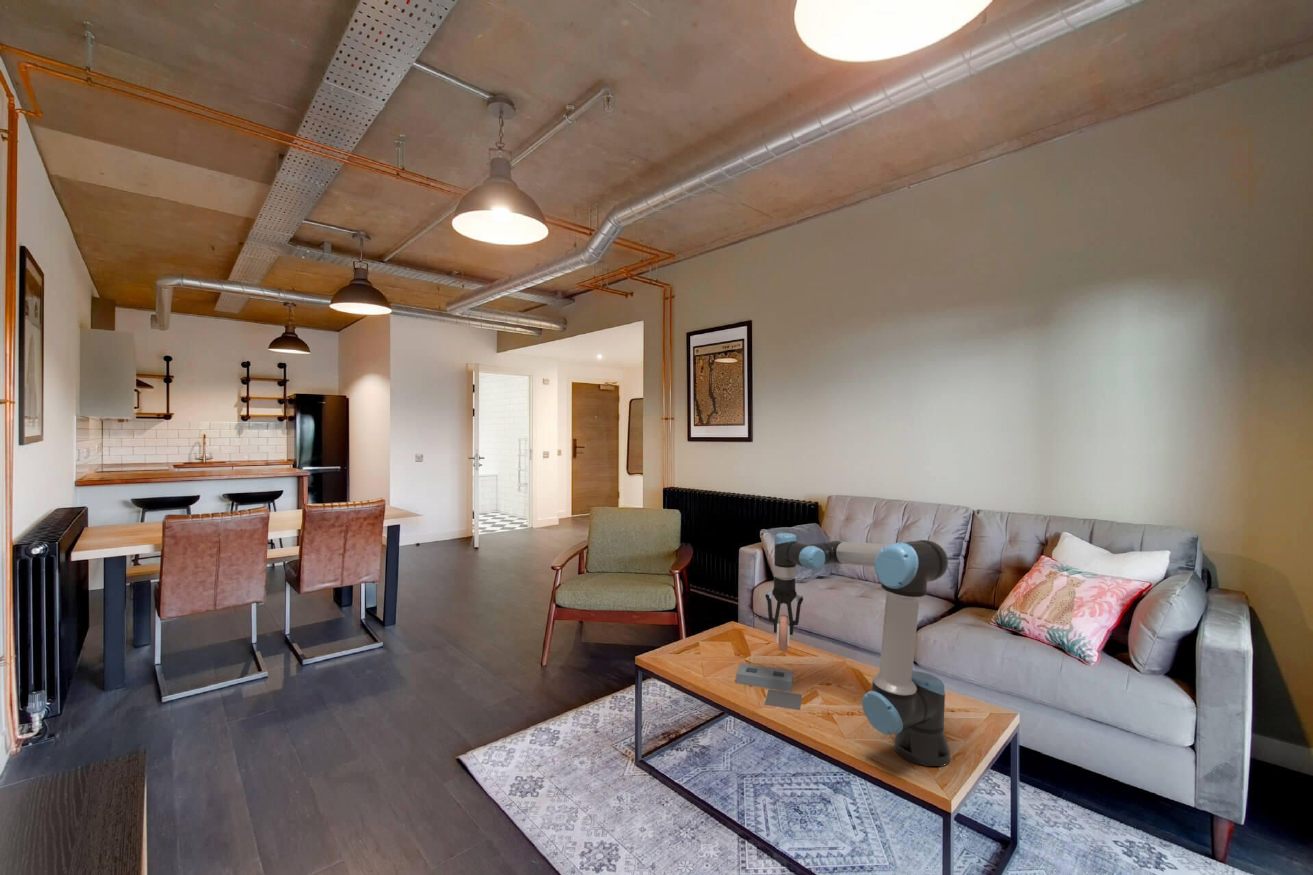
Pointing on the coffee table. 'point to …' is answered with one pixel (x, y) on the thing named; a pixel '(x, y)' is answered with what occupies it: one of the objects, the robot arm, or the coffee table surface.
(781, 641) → the peg
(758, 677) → the hole block
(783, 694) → the mat
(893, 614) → the robot arm
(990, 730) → the coffee table surface
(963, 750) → the coffee table surface
